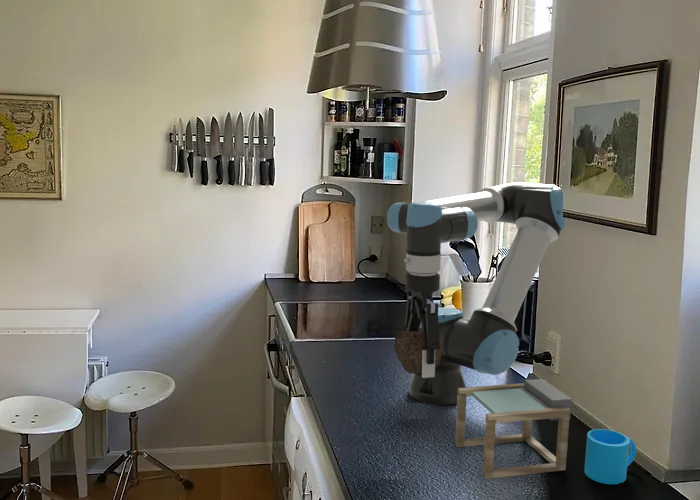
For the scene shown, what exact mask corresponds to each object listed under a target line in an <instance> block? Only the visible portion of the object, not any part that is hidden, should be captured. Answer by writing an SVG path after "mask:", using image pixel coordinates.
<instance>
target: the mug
mask: <svg viewBox="0 0 700 500" xmlns="http://www.w3.org/2000/svg"><path fill="white" fill-rule="evenodd" d="M629 450H630V452H629ZM636 455H637V446H636V443H635V441H633V439H631V438H630V437H628V436H627V435H625V434H624V433H621V432H618V431H615V430H612V429H606V428H597V429H591V430H589V431H588V432H587V435H586V447H585V459H584V474H585V475H586V476H587V477H588V478H589V479H591V480H593V481H595V482H597V483H600V484H606V485H620V484H619V483H621V484H622V482H623V483H625V482H626V480H627V474H628V473H627V472H628V467H629V466H630V465H631V464H632V463H633V461H634V459H635V458H636ZM624 481H625V482H624Z"/></svg>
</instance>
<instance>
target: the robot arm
mask: <svg viewBox="0 0 700 500" xmlns="http://www.w3.org/2000/svg"><path fill="white" fill-rule="evenodd" d="M555 184H556V183H552V184H548V183H546V184H545V183H534V182H524V181H522V182H521V181H517V182H509V183H503V184H498V185H493V186H489V187H484V188H481V189H480V190H479V191H478V192H474V193H468V194H461V195H455V196H450V197H444V198H443V197H442V198H436V199H431V200H425V201H415V202H405V201H404V202H400V201H399V202H395V203H392V204H391V206H390V207H389V208H388V211H387V214H386V223H387V226H388V228H389V229H390V230H391V231H392V232H394V233H398V234H401V235H406V257H405V258H404V259H403V261H404V263H405V270H406V271H407V272H406V274H405V289H406V290H407V292H406V296H407V297H406V299H407V300H406V307H405V308H406V309H405V317H404V324H403V325H404V326H403V327H404V330H406V331H417V332H422V334H423V341H424V347H422V348H421V349H422V350H423V351H422V376H419V375H416V374H412V378H411V379H410V383H409V386H408V387H409V388H408V390H409V391H408V393H409V396H410V397H411V398H412V399H414V400H416V401H417V402H419V403H422V404H423V403H424V404H428V405H436V406H449V405H457V393H458V388H465V387H467V386H466V383H465V379H464V378H465V377H464V374H463V371H462V367H465V368H467V369H471V370H473V371H477V372H478V373H481V374H488V375H491V376H492V375H493V376H496V375H497V376H498V375H500V374H503V373H505V372H506V371H508V370H509V369H510V368H511V367H512V365H513V364H514V362H515V361H516V359H517V356H518V354H519V346H520V339H519V337H518V335H517V334H516V333H517V331H518V329H517V325H516V323H515V320H516V318H517V316H518V313H519V311H520V309H521V307H522V305H523V302H524V300H525V297H526V295H527V294H528V291H529V289H530V287H531V284H532V282H533V281H534V278H535V275H536V273H537V271H538V269H539V267H540V264H541V262H542V261H543V258H544V256H545V253H546V251H547V249H548V246H549V244H550V243H555V242H556V241H558V239H559V237H560V234H561V232H562V231H561V230H563V229H564V228H565V218H564V217H563V192H562V189H561V188H560V187H558V186H556V185H555ZM482 221H483V222H486V223H490V224H491V223H495V222H498V223H507V224H513V225H514V224H515V227H516V229H517V232H516V234H515V236H514V239H513V240H512V242H511V244H510V246H509V248H508V251H507V253H506V256H505V257H504V260H503V261H502V264H501V266H500V268H499V271H498V273H497V275H496V277H495V279H494V282H493V283H492V284H491V288H490V290H489V293H488V295H487V297H486V298H485V301H484V303H483V305H482V307H480V308H477V309H475V310H474V311H473V312H472V315H471V317H470V319H466V318H464V317H465V314H464V311H463V310H462V309H458V308H439V303H438V302H434V299H433V293H435V292H438V291H439V290H440V285H441V283H440V282H441V281H440V280H441V274H440V271H441V261H442V260H441V257H442V254H441V248H442V247H441V244H445V243H451V242H461V241H464V240H467V239H470V238H472V237H473V236H474V235H475V234H476V233H477V230H478V225H479V223H478V222H482ZM560 231H561V232H560ZM439 335H442V336H444V341H443V348H442V353H441V358H440V363H439V365H438V366H437V367H436V368H435V349H440V339H439Z"/></svg>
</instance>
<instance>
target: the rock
mask: <svg viewBox="0 0 700 500" xmlns="http://www.w3.org/2000/svg"><path fill="white" fill-rule="evenodd" d="M439 339H440V349H435V368H436V367H437V366H438V365H439V363H440V358H441V353H442V348H443V341H444V336H442V335H439ZM422 347H424V341H423V334H422V332H417V331H407V330H398V331H396V332H395V335H394V345H393V349H394V350H393V351H394V352H395V354H396V357H397V360H398V361H399V362H400V364H401V365H402V368H403V369H404V370H405V372H406V373H408V374H412V375H413V374H416V375H419V376H422V351H423V350H422V349H421V348H422Z"/></svg>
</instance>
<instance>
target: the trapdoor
mask: <svg viewBox="0 0 700 500" xmlns="http://www.w3.org/2000/svg"><path fill="white" fill-rule="evenodd" d="M523 383H524V388H523V387H521V388H518V389H505V390H492V391H479V392H472V396H471V397H473V399H475V400H476V401H477V402H478V403H480V404H481V406H482V407H484V408H485V409H486V410H487V411H488V412H489V413H501V412H512V411H524V410H536V409H548V408H560V407H567V408H568V409H570V417H569V420H571V413H572V412H571V411H572V401H573V400H572V399H573V398H571V397H569V395H567V394H565V393H563V392H562V391H561V390H560V389H558V388H556V387H555V386H553V385H552V384H550V383H549V382H547V381H546V380H544V379H543V378H539V379H524V382H523ZM548 420H550V421H551V422H553V421H559V418H549V419H548Z"/></svg>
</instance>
